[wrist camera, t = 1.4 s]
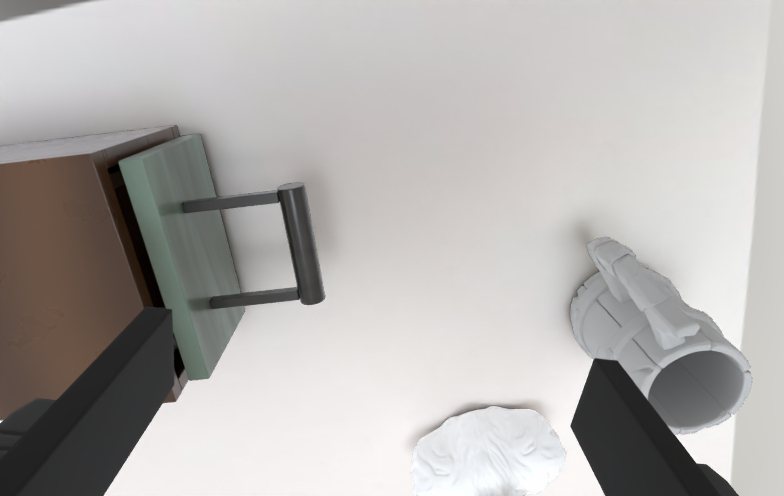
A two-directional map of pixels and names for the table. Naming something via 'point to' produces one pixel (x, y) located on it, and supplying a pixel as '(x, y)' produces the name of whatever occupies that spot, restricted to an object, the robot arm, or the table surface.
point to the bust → (488, 455)
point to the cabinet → (66, 262)
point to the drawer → (203, 246)
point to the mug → (658, 341)
